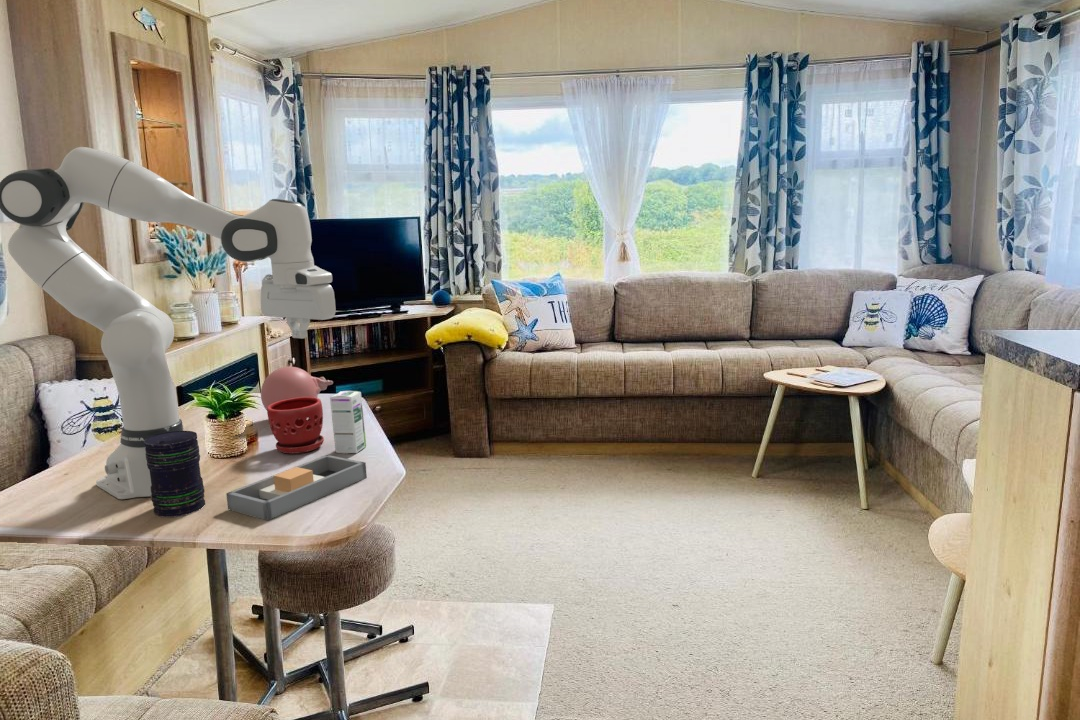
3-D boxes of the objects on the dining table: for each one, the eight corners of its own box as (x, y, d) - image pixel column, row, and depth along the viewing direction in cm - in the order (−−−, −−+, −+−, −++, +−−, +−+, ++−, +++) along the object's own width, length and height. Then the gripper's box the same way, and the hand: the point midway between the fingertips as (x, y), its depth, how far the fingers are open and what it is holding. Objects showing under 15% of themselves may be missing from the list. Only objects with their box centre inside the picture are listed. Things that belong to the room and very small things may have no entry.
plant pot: (309, 437, 207) (305, 393, 205) (335, 447, 198) (331, 401, 195) (262, 449, 198) (257, 403, 196) (287, 460, 189) (282, 412, 186)
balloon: (339, 420, 222) (335, 367, 219) (265, 430, 215) (259, 375, 212) (332, 408, 237) (328, 358, 234) (262, 416, 229) (257, 365, 226)
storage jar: (173, 498, 167) (164, 430, 164) (215, 499, 165) (207, 430, 162) (142, 516, 157) (132, 444, 154) (187, 518, 155) (177, 445, 152)
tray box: (228, 509, 159) (226, 493, 158) (328, 469, 181) (327, 454, 181) (267, 520, 153) (266, 503, 152) (366, 477, 175) (365, 462, 174)
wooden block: (275, 489, 164) (273, 475, 163) (297, 480, 169) (296, 466, 168) (291, 493, 161) (290, 479, 161) (313, 483, 166) (312, 470, 166)
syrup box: (356, 454, 192) (352, 396, 189) (334, 453, 193) (329, 395, 190) (366, 446, 197) (362, 390, 195) (344, 446, 199) (339, 390, 196)
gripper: (250, 275, 174) (256, 337, 177) (315, 277, 163) (321, 343, 166) (273, 272, 179) (279, 332, 182) (337, 274, 168) (343, 338, 171)
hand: (299, 337), depth 174 cm, fingers closed
